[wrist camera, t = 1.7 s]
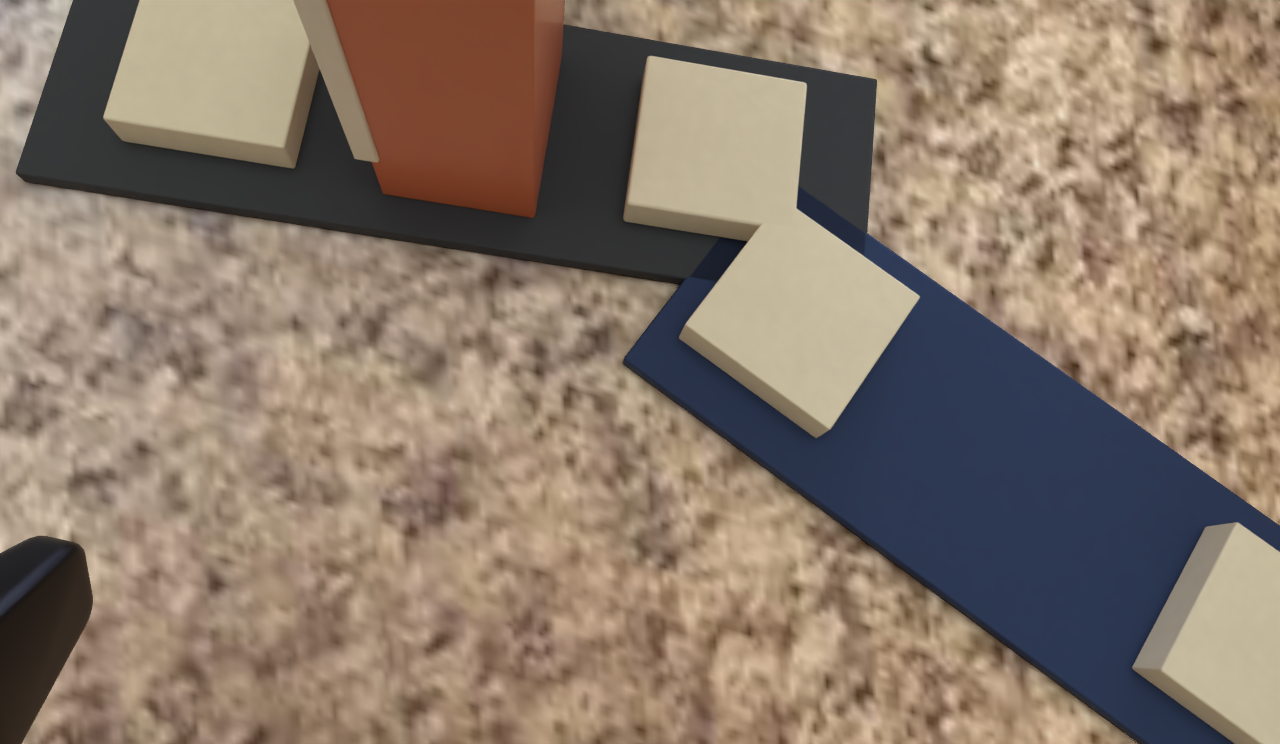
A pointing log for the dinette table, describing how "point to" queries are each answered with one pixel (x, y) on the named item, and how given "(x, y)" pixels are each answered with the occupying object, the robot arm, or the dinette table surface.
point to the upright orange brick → (444, 93)
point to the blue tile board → (983, 476)
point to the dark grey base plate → (353, 202)
